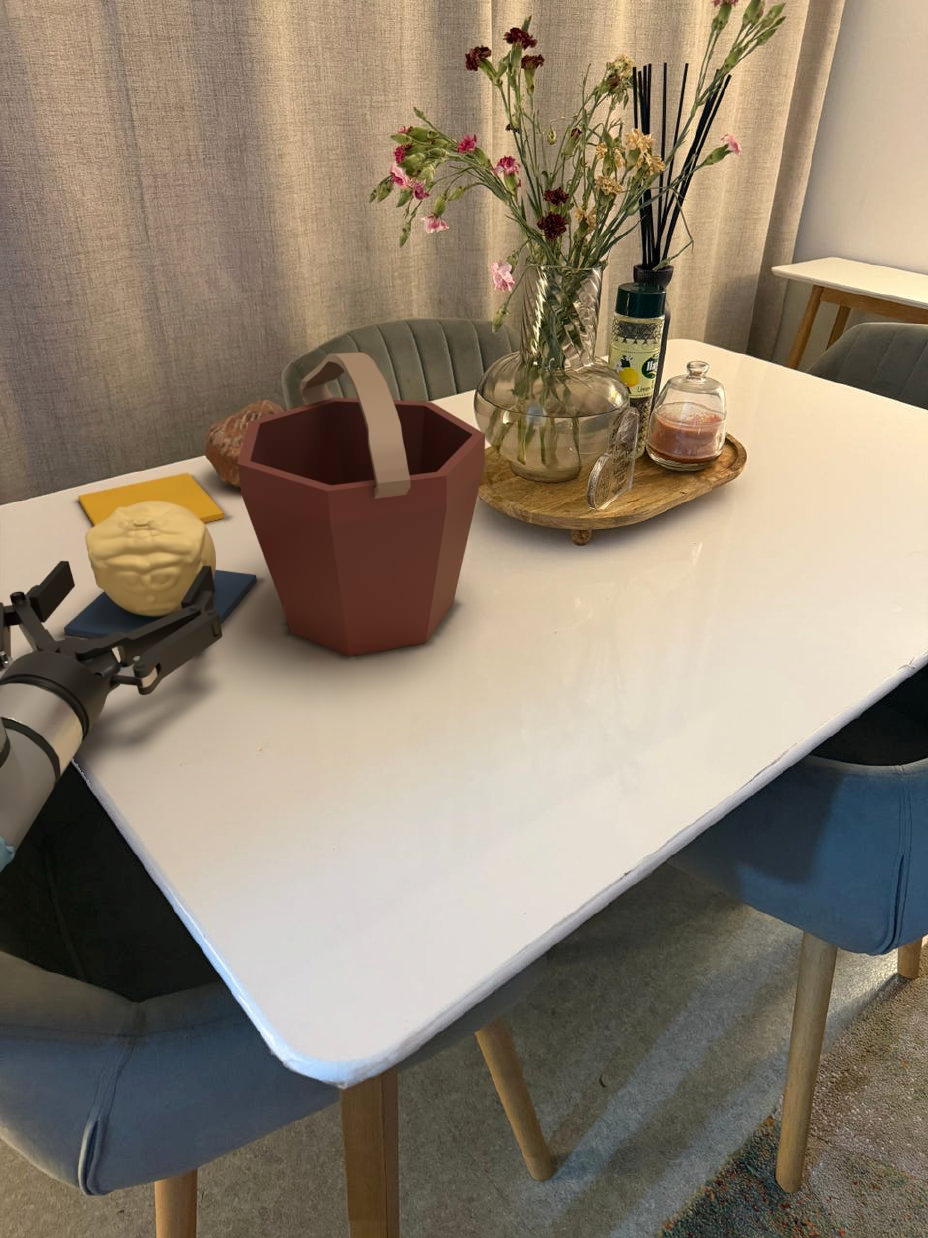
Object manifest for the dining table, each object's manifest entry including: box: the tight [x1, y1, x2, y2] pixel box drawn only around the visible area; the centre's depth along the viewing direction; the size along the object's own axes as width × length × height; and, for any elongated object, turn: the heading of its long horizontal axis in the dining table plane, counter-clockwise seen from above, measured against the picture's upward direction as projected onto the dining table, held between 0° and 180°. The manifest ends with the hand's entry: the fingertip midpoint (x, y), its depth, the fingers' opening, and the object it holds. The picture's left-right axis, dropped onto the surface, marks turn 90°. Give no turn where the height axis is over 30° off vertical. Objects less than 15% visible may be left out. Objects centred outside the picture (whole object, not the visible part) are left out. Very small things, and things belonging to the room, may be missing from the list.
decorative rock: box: [204, 399, 284, 488], centre depth 116 cm, size 13×11×10 cm
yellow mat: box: [77, 472, 225, 527], centre depth 110 cm, size 14×14×1 cm
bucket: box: [237, 352, 486, 657], centre depth 85 cm, size 24×22×25 cm
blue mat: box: [63, 569, 258, 639], centre depth 91 cm, size 14×14×1 cm
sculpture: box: [84, 501, 217, 617], centre depth 88 cm, size 11×12×11 cm
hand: (138, 575), depth 84 cm, fingers open, 13 cm apart
